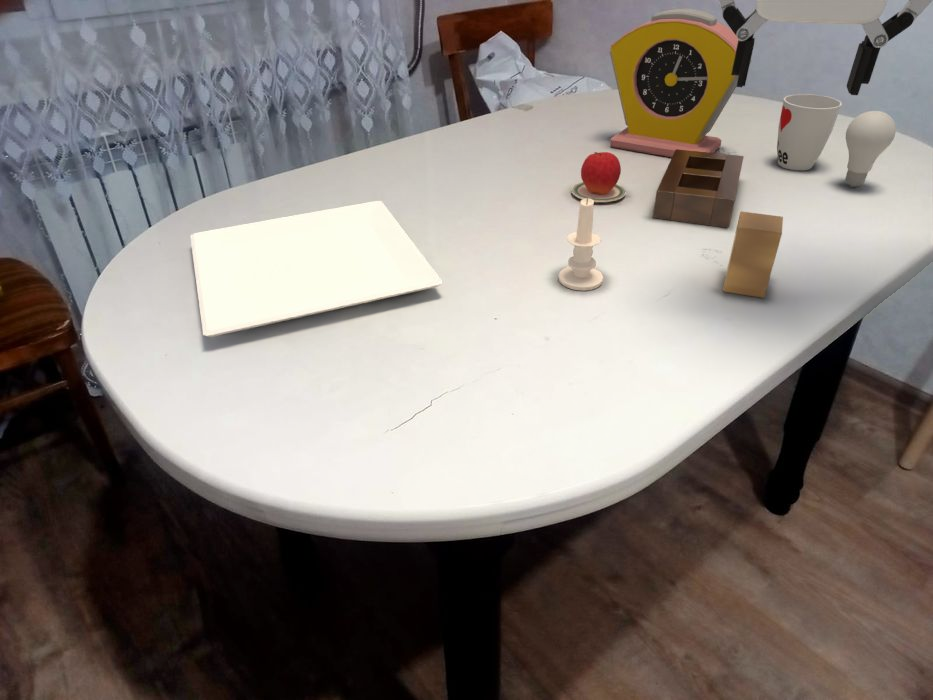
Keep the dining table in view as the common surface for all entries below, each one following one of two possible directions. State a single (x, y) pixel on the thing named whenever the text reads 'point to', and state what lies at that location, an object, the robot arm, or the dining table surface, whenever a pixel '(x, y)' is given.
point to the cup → (805, 129)
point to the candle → (582, 253)
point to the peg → (753, 254)
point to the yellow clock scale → (673, 81)
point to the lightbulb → (867, 143)
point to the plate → (304, 266)
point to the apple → (600, 178)
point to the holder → (699, 188)
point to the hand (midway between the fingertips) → (795, 87)
